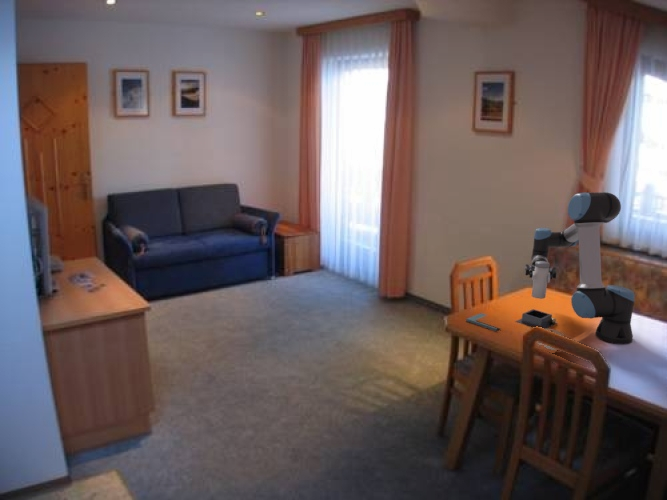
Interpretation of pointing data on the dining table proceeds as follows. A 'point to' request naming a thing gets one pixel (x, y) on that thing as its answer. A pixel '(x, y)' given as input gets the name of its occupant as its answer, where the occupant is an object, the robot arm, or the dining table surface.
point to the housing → (537, 319)
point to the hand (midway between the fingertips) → (541, 278)
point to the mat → (474, 318)
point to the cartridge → (540, 279)
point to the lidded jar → (554, 332)
